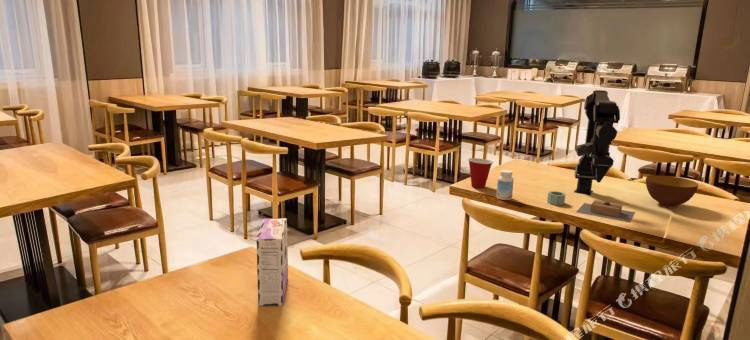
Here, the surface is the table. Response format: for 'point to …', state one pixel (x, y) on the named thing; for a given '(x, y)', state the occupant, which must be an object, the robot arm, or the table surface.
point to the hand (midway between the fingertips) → (596, 179)
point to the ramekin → (556, 198)
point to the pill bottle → (505, 185)
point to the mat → (624, 215)
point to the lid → (606, 208)
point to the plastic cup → (479, 171)
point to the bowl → (670, 190)
